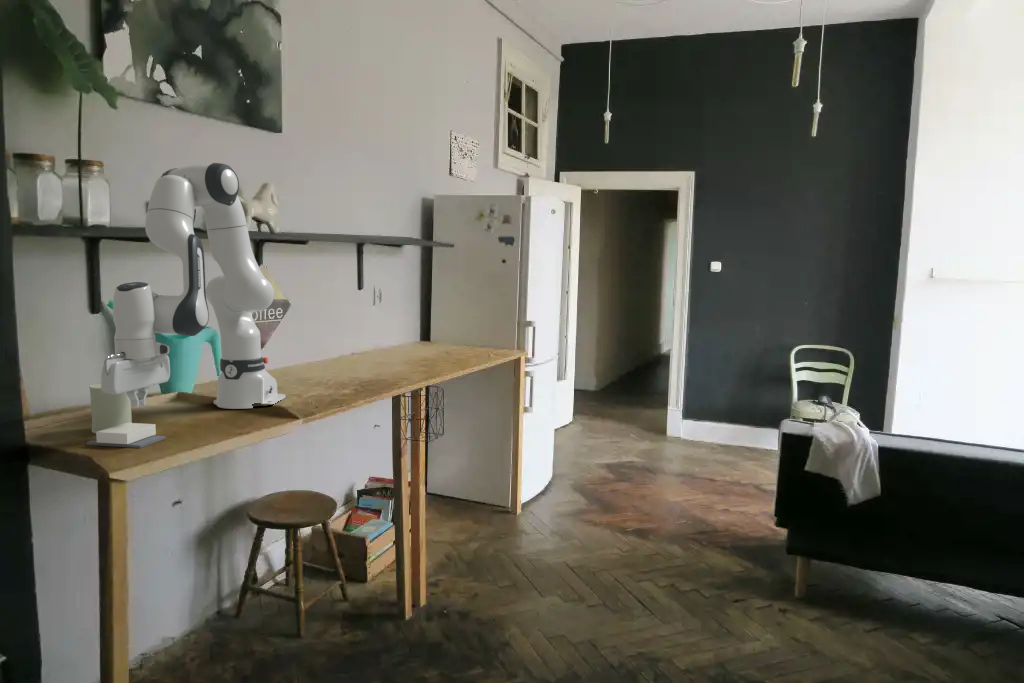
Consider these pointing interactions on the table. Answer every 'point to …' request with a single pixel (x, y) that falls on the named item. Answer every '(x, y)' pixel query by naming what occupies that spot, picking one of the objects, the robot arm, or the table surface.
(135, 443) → the mat
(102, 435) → the white box
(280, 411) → the table surface
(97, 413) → the pale green cylinder
